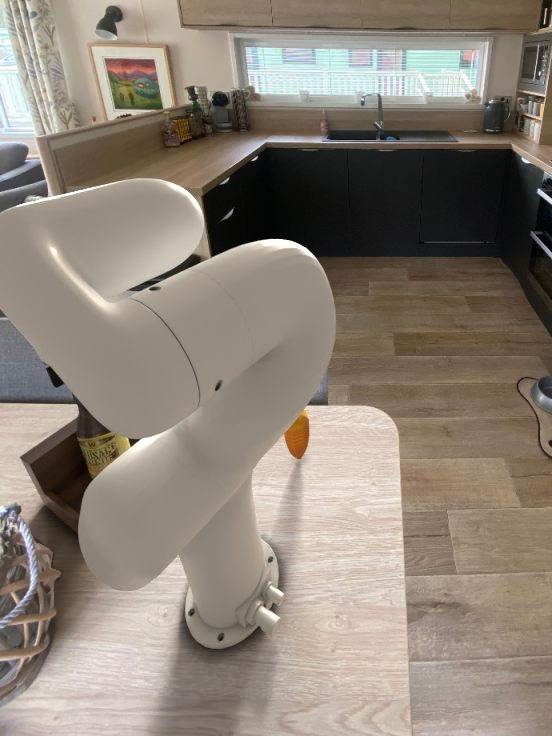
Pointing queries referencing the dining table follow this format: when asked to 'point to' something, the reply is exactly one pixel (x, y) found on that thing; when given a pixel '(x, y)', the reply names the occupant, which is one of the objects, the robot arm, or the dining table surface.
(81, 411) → the sauce bottle
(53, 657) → the dining table surface
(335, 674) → the dining table surface
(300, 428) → the decorative vegetable
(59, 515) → the brown wooden box
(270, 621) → the robot arm
